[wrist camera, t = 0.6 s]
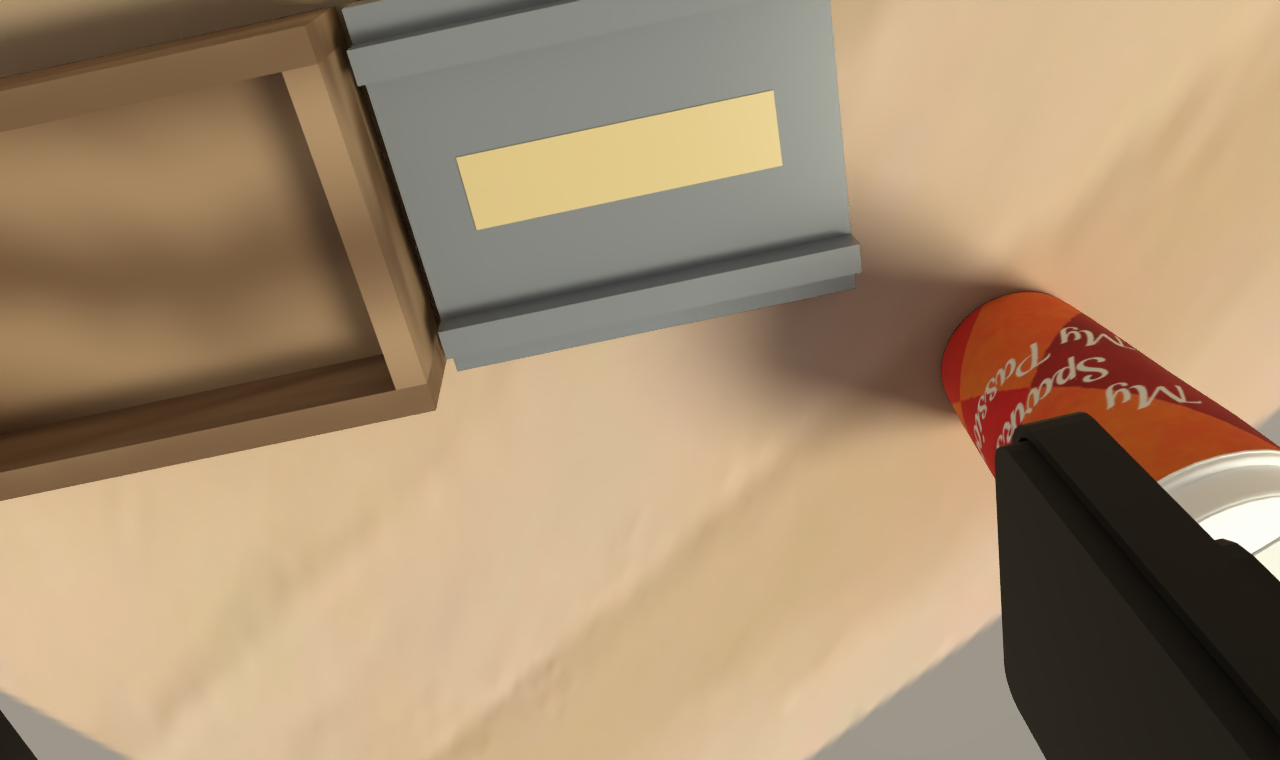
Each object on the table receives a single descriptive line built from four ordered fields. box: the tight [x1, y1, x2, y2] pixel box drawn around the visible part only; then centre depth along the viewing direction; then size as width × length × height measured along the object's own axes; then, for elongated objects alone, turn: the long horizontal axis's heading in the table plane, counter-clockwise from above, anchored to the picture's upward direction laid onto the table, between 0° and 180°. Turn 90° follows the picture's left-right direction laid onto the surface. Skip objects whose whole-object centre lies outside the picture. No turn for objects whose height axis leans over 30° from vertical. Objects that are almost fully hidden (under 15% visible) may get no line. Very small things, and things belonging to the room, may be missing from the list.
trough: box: [0, 6, 447, 501], centre depth 30 cm, size 12×17×4 cm
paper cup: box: [941, 292, 1280, 581], centre depth 31 cm, size 8×8×14 cm
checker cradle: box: [341, 0, 862, 371], centre depth 31 cm, size 12×14×2 cm
